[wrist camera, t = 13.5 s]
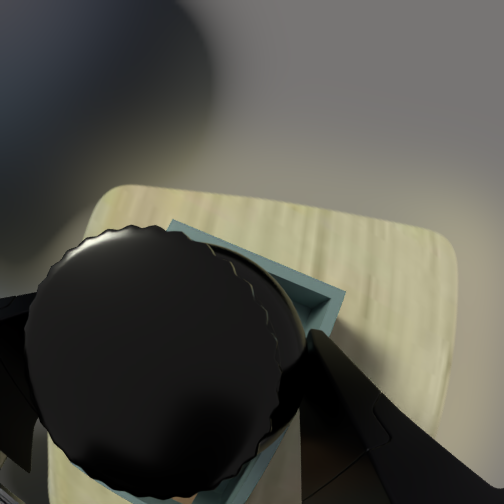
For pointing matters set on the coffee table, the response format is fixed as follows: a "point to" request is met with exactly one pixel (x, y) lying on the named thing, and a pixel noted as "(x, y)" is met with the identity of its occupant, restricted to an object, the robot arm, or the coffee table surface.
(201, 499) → the tote
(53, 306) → the supplement bottle
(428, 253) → the coffee table surface
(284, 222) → the coffee table surface
